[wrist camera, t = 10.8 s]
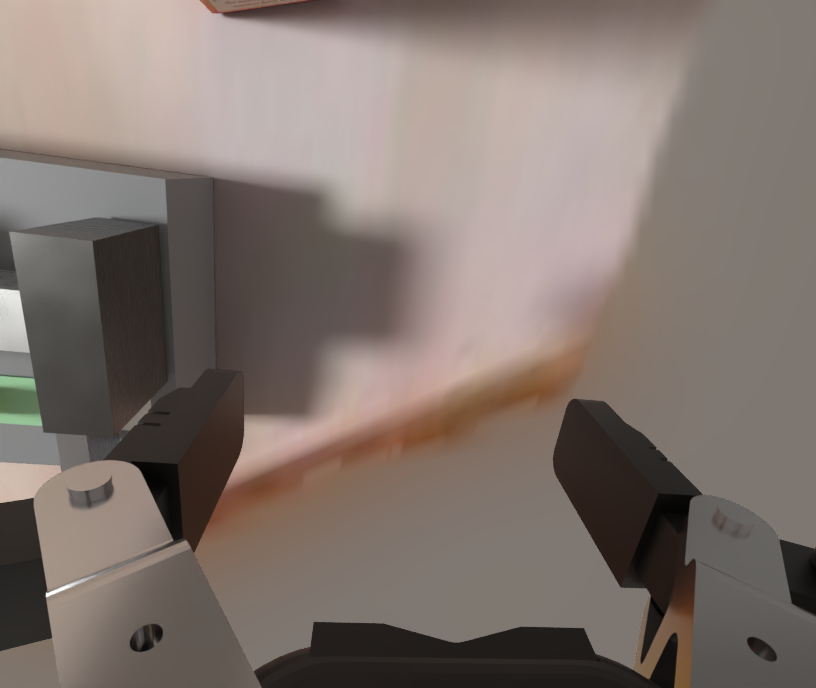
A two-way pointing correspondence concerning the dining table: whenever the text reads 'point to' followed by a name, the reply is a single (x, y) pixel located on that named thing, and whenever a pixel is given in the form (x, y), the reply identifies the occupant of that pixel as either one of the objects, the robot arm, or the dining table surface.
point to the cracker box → (242, 4)
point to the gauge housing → (180, 264)
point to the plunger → (87, 327)
